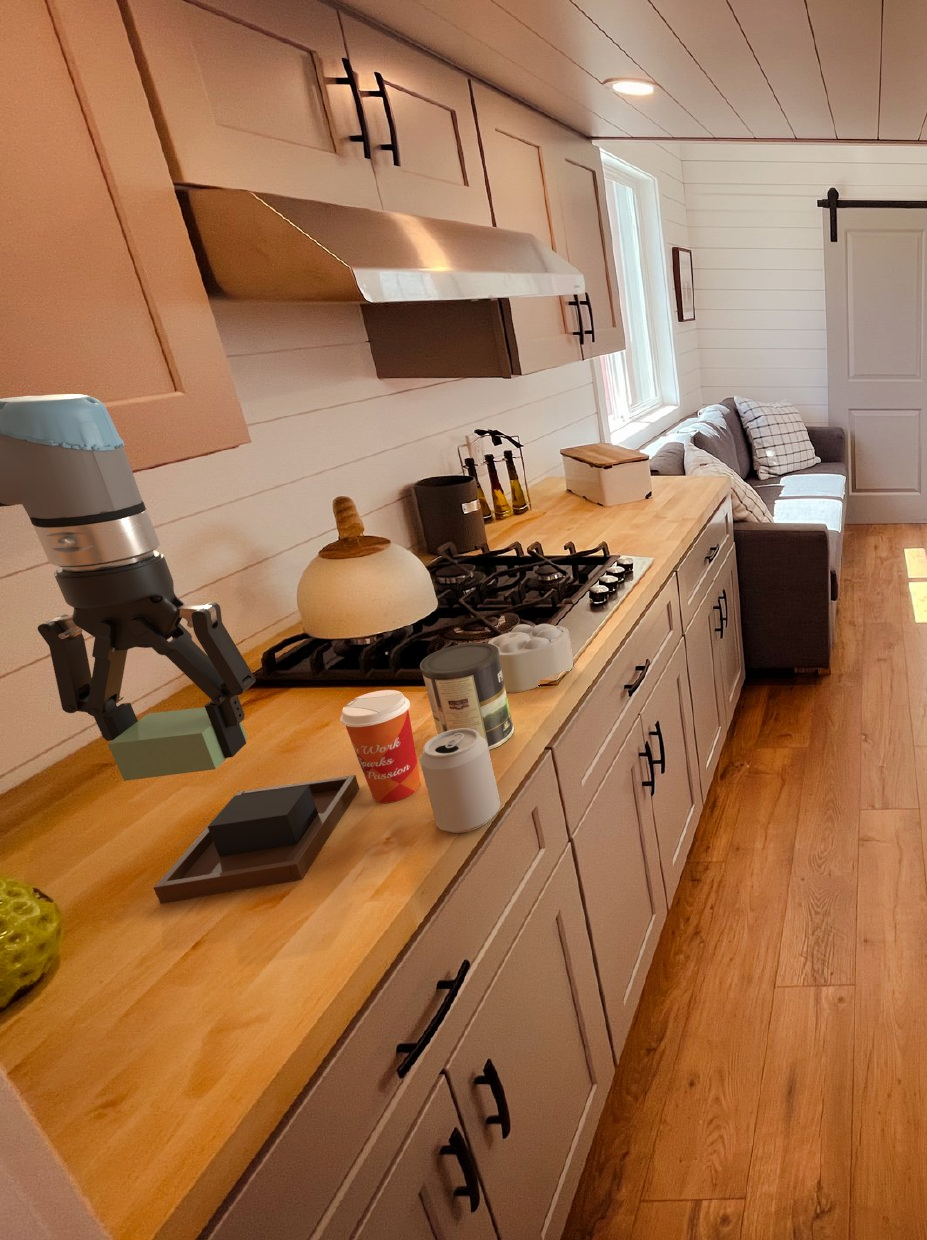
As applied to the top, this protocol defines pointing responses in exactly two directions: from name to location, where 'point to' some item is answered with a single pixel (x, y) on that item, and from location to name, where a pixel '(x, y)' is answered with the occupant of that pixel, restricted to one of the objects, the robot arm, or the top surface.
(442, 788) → the can
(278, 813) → the black block
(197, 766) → the pad
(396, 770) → the paper cup
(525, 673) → the lumpy-topped squat cylinder
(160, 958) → the top surface
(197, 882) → the tray
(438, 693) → the coffee can
